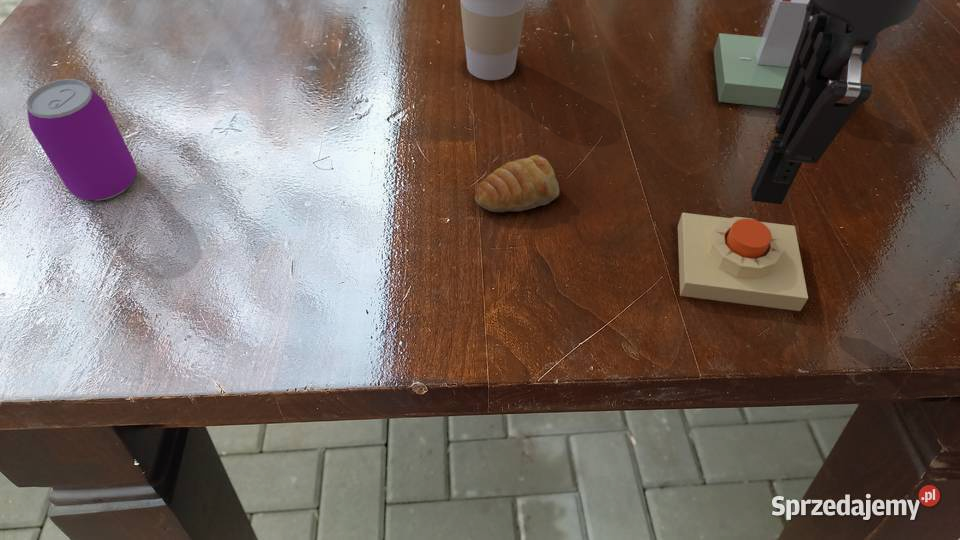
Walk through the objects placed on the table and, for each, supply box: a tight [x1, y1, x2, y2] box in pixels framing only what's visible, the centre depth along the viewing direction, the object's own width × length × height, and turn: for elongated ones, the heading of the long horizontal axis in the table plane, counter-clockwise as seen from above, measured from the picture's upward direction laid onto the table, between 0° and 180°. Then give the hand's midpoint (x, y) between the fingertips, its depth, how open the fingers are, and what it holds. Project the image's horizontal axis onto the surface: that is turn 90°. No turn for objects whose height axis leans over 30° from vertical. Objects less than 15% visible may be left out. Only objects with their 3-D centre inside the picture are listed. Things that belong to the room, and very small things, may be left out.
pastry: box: [474, 154, 560, 213], centre depth 79 cm, size 9×7×4 cm
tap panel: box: [713, 32, 789, 109], centre depth 94 cm, size 16×12×3 cm
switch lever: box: [756, 0, 810, 67], centre depth 89 cm, size 7×2×9 cm, turn 81°
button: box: [727, 218, 772, 259], centre depth 70 cm, size 4×4×2 cm
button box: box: [677, 212, 809, 312], centre depth 72 cm, size 12×10×4 cm
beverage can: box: [25, 78, 138, 202], centre depth 76 cm, size 8×8×12 cm
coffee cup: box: [459, 0, 528, 81], centre depth 91 cm, size 9×9×15 cm
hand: (766, 197), depth 66 cm, fingers closed
